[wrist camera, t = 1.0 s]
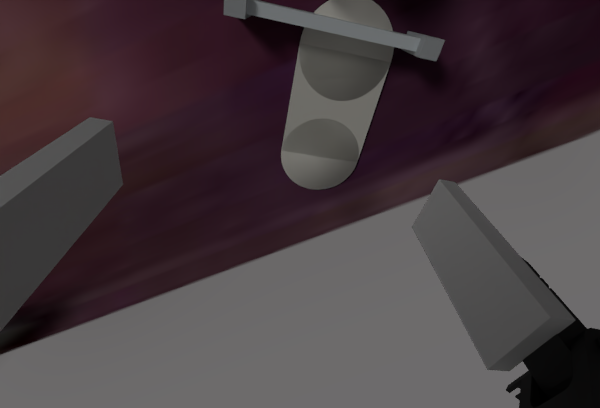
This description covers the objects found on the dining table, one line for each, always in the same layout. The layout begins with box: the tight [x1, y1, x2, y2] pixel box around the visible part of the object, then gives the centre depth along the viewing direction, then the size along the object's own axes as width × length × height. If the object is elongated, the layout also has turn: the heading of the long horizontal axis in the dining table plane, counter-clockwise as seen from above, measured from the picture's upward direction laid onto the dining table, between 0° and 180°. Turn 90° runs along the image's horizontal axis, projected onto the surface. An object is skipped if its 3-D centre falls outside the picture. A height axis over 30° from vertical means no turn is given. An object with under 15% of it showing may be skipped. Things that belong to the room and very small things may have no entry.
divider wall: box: [224, 0, 445, 61], centre depth 25 cm, size 2×18×4 cm, turn 79°
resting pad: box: [281, 0, 394, 190], centre depth 31 cm, size 20×9×1 cm, turn 169°
